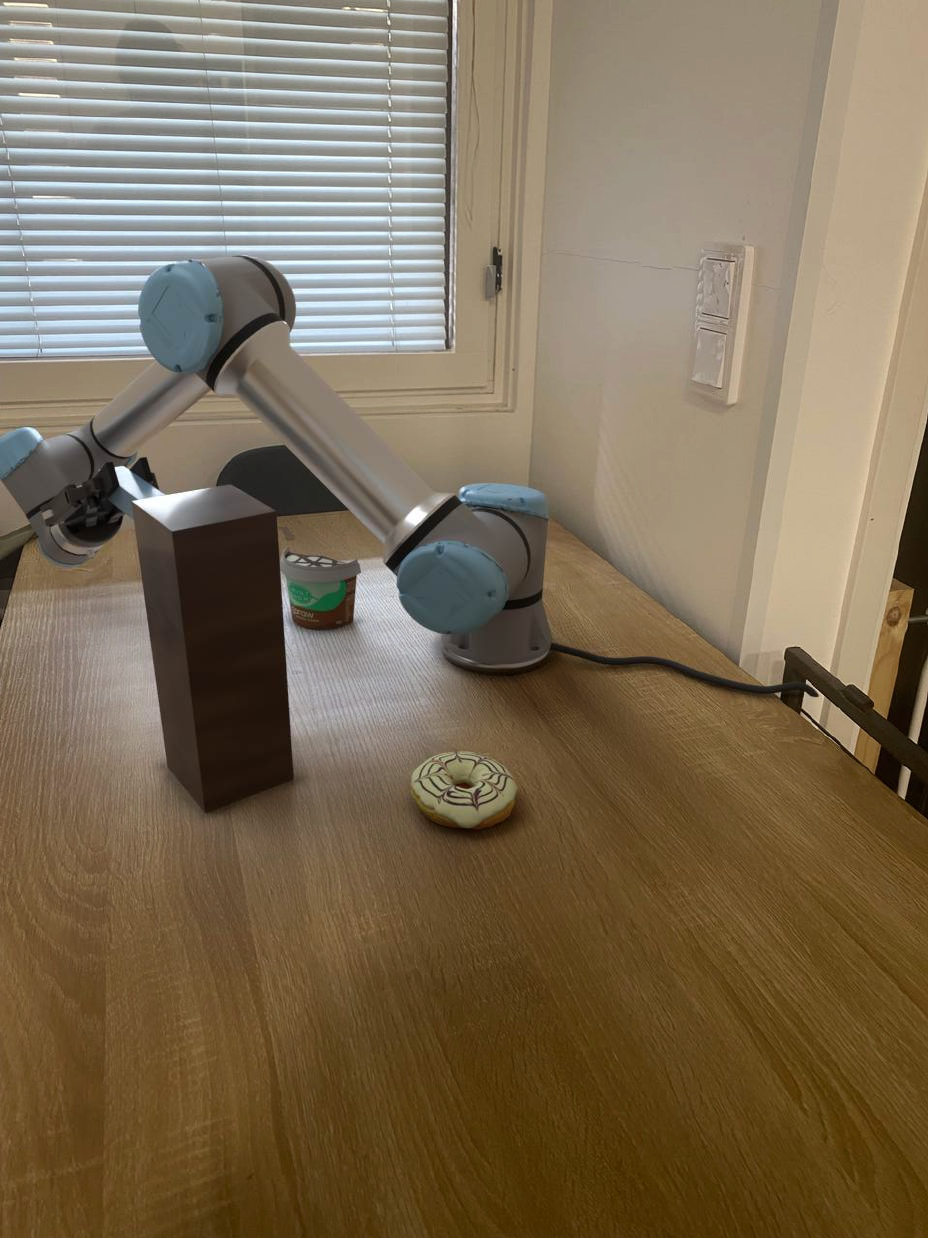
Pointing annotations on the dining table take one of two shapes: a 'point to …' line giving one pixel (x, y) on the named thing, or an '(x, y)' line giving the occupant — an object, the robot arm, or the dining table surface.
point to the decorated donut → (463, 790)
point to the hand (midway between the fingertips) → (129, 471)
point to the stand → (217, 640)
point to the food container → (320, 590)
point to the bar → (131, 490)
